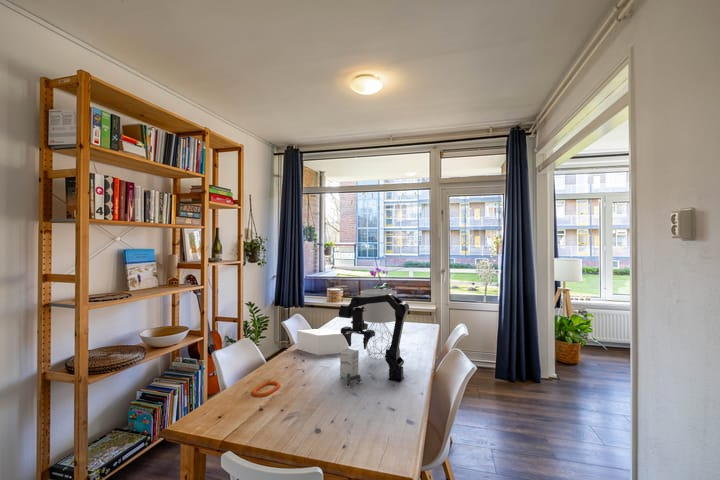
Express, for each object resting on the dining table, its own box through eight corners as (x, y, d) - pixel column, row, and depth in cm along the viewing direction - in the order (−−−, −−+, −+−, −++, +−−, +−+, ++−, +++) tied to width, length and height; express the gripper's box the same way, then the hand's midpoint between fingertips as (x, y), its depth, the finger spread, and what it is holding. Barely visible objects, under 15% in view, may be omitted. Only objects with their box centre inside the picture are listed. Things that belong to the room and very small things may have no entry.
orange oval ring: (284, 382, 159) (264, 395, 145) (284, 385, 159) (264, 399, 145) (268, 379, 163) (247, 391, 149) (268, 382, 163) (247, 395, 149)
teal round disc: (360, 374, 171) (360, 373, 171) (352, 380, 164) (352, 380, 164) (346, 371, 176) (346, 370, 176) (337, 377, 168) (337, 376, 168)
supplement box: (339, 376, 168) (339, 351, 168) (347, 371, 175) (347, 347, 175) (351, 379, 165) (351, 354, 165) (358, 374, 171) (359, 350, 171)
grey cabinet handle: (362, 382, 162) (362, 374, 162) (353, 389, 154) (353, 380, 154) (349, 379, 166) (349, 371, 166) (339, 385, 158) (339, 377, 158)
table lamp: (396, 350, 210) (396, 289, 211) (397, 363, 188) (397, 294, 189) (362, 349, 212) (362, 288, 213) (358, 361, 190) (358, 293, 191)
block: (345, 356, 199) (345, 336, 199) (291, 353, 205) (292, 334, 205) (351, 348, 216) (351, 329, 217) (301, 345, 222) (301, 327, 223)
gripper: (379, 318, 178) (379, 346, 178) (350, 314, 187) (350, 341, 187) (370, 322, 168) (370, 352, 168) (340, 318, 178) (339, 346, 177)
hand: (357, 347), depth 176 cm, fingers open, 9 cm apart
